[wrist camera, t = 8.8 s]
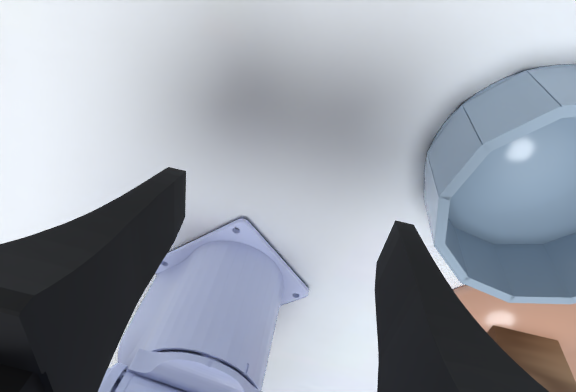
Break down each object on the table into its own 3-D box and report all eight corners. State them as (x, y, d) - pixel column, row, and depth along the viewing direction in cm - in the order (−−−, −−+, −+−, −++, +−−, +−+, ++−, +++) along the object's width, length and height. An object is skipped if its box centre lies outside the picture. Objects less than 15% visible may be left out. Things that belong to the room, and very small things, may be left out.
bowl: (474, 268, 26) (492, 326, 23) (387, 140, 22) (392, 187, 18) (682, 194, 21) (748, 254, 18) (623, 11, 17) (694, 40, 13)
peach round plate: (450, 405, 36) (452, 414, 35) (374, 311, 30) (375, 320, 29) (639, 374, 30) (645, 385, 29) (589, 249, 24) (595, 258, 23)
